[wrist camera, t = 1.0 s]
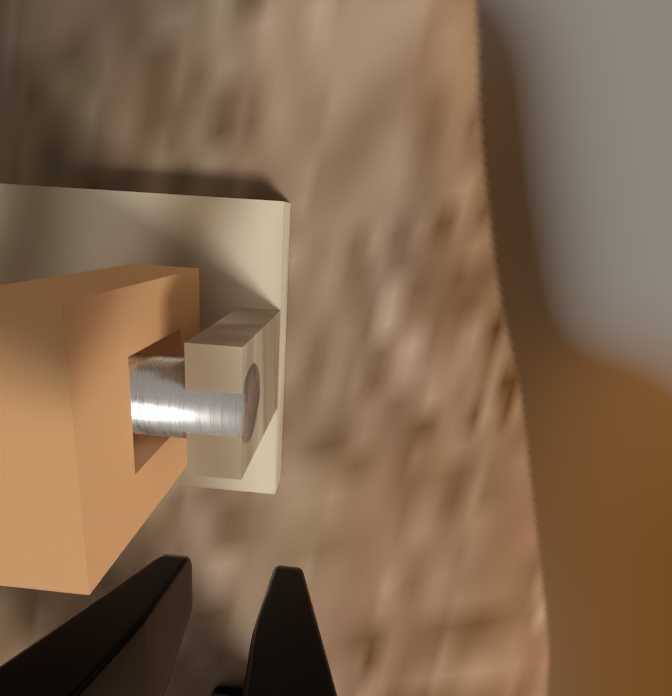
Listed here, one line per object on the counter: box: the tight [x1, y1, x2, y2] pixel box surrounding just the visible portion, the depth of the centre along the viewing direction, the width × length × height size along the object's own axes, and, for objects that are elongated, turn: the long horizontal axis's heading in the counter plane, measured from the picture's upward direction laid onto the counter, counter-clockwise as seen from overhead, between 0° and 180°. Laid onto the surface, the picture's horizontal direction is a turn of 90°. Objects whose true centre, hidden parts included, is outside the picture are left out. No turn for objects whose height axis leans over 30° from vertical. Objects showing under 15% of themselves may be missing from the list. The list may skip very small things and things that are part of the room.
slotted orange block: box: [0, 264, 200, 595], centre depth 14 cm, size 2×7×8 cm, turn 176°
